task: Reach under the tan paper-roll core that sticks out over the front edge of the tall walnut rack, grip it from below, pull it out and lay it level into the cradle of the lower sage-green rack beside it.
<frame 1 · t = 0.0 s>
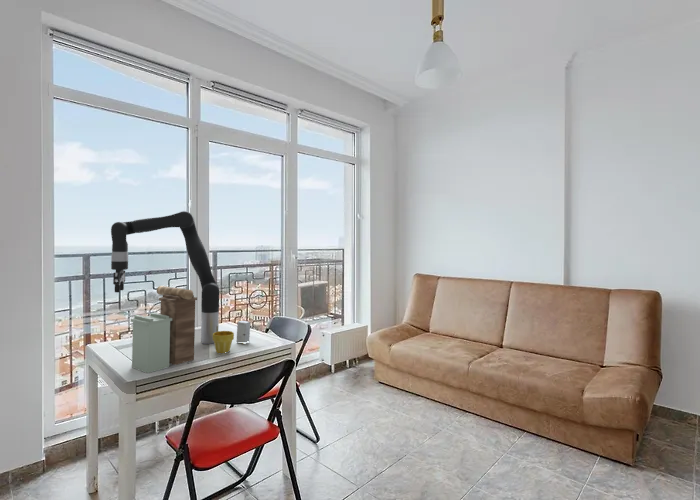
hand: (119, 291, 200), 29 cm above the table, tool pointing down, fingers open, 8 cm apart
skincare box: (243, 343, 215), on the table
plant pot: (222, 352, 198), on the table
sage rack: (150, 367, 171), on the table
walnut rack: (176, 360, 182), on the table
tan roll: (174, 296, 183), point 30 cm above the table, touching walnut rack
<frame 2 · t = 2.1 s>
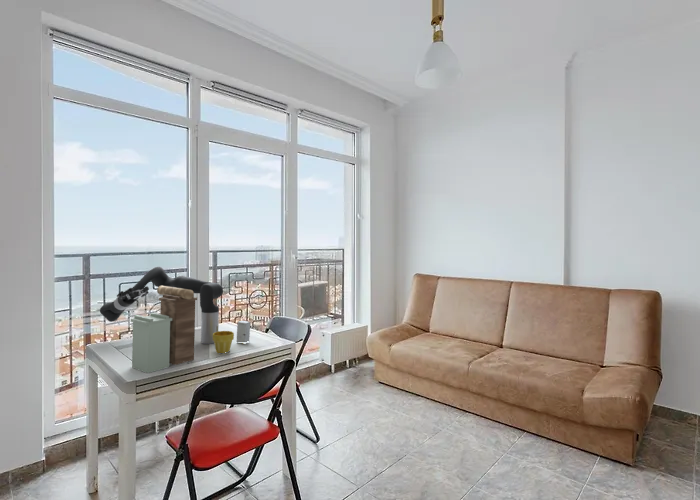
hand: (139, 288, 200), 31 cm above the table, tool pointing upward, fingers open, 8 cm apart
tan roll: (174, 296, 183), point 30 cm above the table, tilted 8°, touching walnut rack
everything else where it was.
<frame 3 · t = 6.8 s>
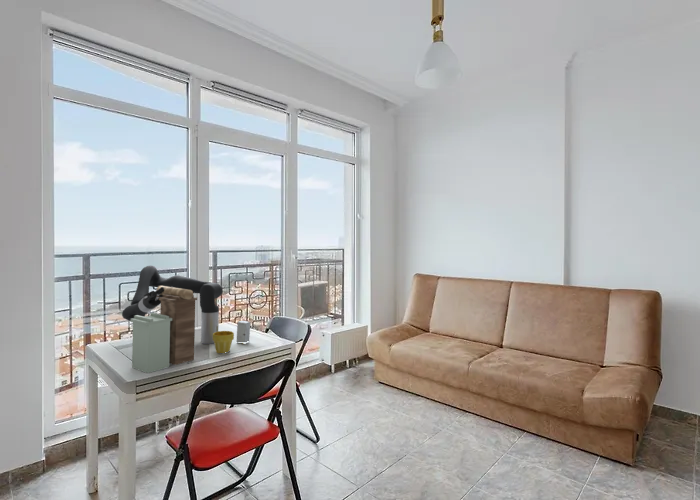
hand: (167, 288, 186), 34 cm above the table, tool pointing upward, fingers closed on tan roll, 4 cm apart
tan roll: (174, 296, 183), point 30 cm above the table, touching gripper, walnut rack
everything else where it was.
when the fingers open (26 cm above the table, at t = 16.4 s): tan roll stays where it is, resting on sage rack.
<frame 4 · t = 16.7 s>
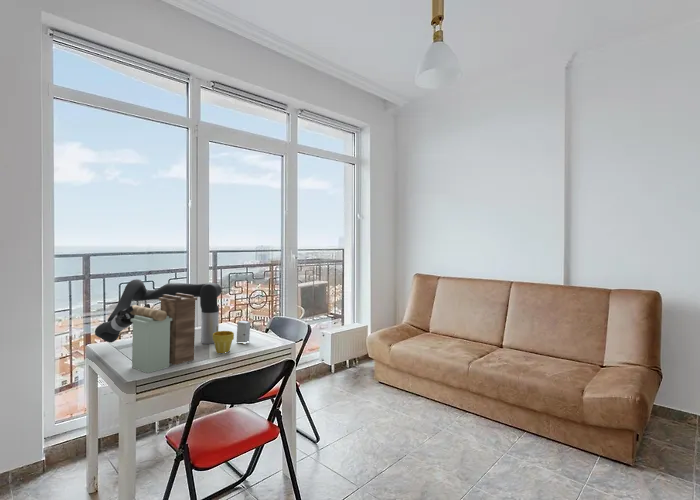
hand: (140, 306, 175), 26 cm above the table, tool pointing upward, fingers open, 7 cm apart
tan roll: (147, 317, 172), point 22 cm above the table, touching sage rack
everything else where it was.
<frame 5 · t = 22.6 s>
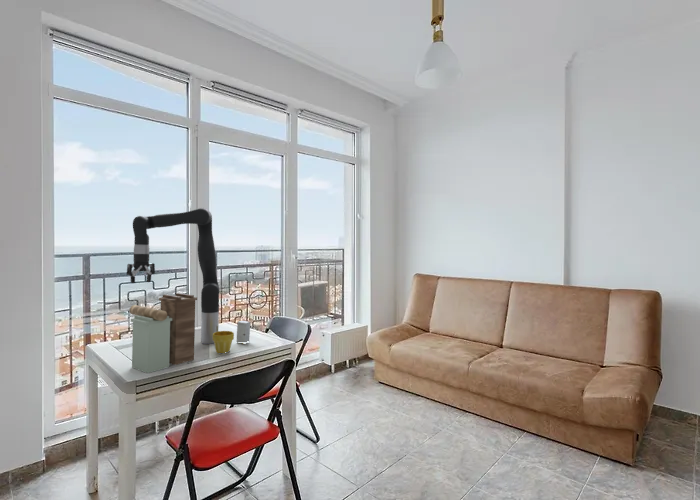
hand: (140, 282, 208), 33 cm above the table, tool pointing down, fingers open, 8 cm apart
nothing on the table moved.
at the end: tan roll inside the target area on the sage rack (0.3 cm from its centre), point 22.0 cm above the sage rack's base; tan roll touching sage rack; the gripper is holding nothing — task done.
